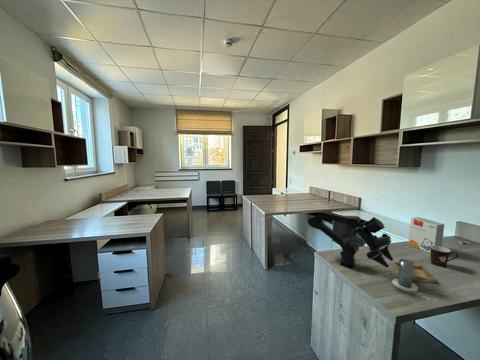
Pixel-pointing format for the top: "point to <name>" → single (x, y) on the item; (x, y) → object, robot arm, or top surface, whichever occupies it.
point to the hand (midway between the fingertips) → (390, 263)
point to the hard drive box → (425, 233)
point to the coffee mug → (440, 255)
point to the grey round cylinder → (405, 273)
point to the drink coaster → (413, 288)
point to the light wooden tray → (419, 273)
